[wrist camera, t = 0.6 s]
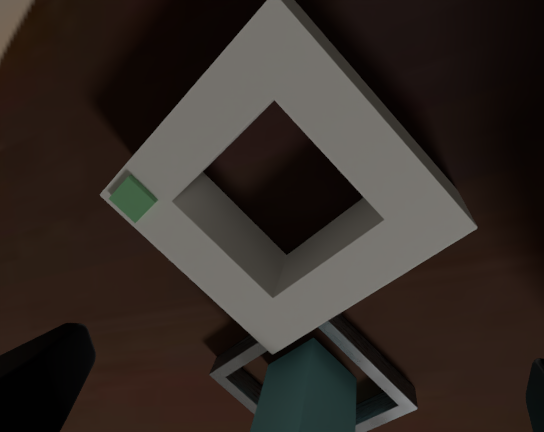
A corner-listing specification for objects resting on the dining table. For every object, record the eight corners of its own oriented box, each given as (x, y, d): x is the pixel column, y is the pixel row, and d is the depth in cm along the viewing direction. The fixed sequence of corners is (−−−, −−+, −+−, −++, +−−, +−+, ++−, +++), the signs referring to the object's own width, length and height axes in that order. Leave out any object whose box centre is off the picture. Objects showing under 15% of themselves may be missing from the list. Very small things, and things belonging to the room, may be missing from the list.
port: (457, 190, 20) (479, 231, 16) (285, 306, 25) (271, 359, 21) (292, -3, 17) (272, -9, 14) (141, 167, 22) (95, 197, 19)
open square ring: (415, 388, 25) (418, 408, 24) (307, 438, 29) (304, 458, 28) (316, 290, 24) (313, 306, 22) (216, 357, 27) (209, 374, 26)
